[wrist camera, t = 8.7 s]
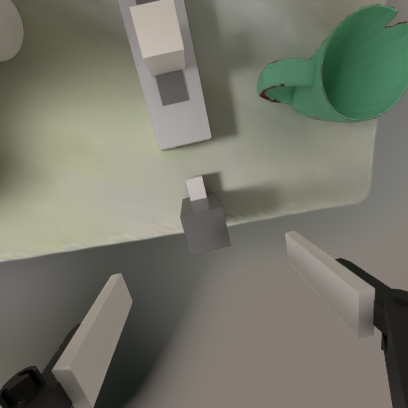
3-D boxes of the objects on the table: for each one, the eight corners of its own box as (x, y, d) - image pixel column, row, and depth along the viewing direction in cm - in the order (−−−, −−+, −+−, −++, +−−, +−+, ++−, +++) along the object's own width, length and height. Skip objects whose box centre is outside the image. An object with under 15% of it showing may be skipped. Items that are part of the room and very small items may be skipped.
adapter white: (151, 77, 22) (142, 58, 18) (141, 37, 21) (129, 7, 17) (184, 69, 22) (184, 49, 18) (176, 29, 21) (173, -3, 17)
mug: (343, 57, 27) (429, 2, 17) (334, 130, 29) (405, 119, 20) (241, 60, 26) (272, 5, 16) (242, 135, 29) (269, 126, 19)
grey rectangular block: (190, 228, 32) (190, 256, 23) (177, 179, 29) (172, 190, 21) (219, 221, 32) (231, 246, 23) (208, 172, 30) (217, 180, 21)
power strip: (163, 150, 28) (158, 150, 24) (88, -122, 21) (60, -199, 16) (208, 140, 28) (212, 137, 24) (151, -135, 21) (141, -214, 16)
